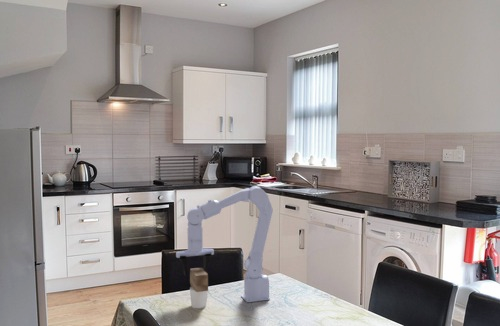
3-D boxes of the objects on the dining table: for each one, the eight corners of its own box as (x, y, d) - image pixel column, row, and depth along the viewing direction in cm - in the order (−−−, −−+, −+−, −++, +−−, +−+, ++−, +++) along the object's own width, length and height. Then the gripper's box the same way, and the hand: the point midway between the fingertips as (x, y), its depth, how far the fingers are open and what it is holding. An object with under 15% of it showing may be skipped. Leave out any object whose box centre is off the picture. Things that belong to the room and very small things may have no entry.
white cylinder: (205, 309, 165) (204, 290, 164) (187, 308, 166) (187, 289, 166) (210, 303, 172) (210, 285, 171) (193, 301, 173) (193, 283, 173)
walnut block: (201, 282, 174) (201, 267, 174) (208, 290, 165) (207, 274, 164) (190, 284, 172) (189, 268, 172) (196, 292, 163) (195, 275, 163)
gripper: (178, 243, 167) (178, 279, 167) (216, 240, 172) (216, 275, 172) (174, 239, 173) (175, 274, 174) (211, 236, 178) (211, 270, 179)
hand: (195, 274), depth 174 cm, fingers open, 7 cm apart
